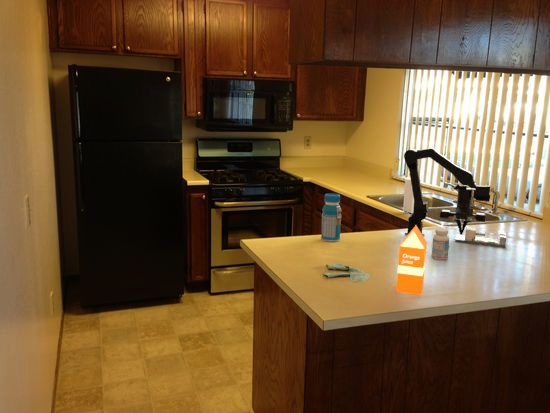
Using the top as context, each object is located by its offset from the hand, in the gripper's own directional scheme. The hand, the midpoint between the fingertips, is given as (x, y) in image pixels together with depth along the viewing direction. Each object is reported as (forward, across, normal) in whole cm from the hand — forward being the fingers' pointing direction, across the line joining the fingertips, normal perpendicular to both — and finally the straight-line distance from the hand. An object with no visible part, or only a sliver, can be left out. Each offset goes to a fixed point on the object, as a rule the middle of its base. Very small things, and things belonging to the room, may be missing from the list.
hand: (461, 234), depth 219 cm
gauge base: (+2, +8, 0) cm, 8 cm away
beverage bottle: (+2, -52, -28) cm, 59 cm away
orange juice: (+3, -10, -74) cm, 74 cm away
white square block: (+1, +6, -1) cm, 6 cm away
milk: (+2, -30, +51) cm, 60 cm away
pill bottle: (+3, -5, -34) cm, 34 cm away
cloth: (+3, -35, -69) cm, 77 cm away
